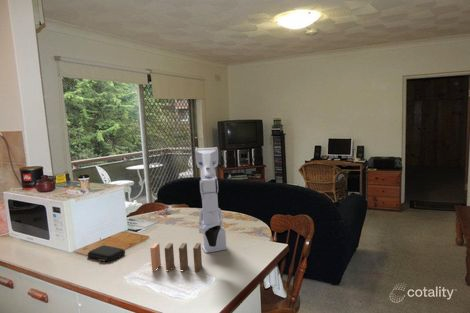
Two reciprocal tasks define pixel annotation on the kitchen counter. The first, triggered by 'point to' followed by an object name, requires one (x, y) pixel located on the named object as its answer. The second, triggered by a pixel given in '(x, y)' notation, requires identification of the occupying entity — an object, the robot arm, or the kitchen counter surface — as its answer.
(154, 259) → the end domino
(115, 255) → the carrying case or bag
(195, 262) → the domino
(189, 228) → the kitchen counter surface
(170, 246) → the domino
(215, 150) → the robot arm
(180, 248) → the domino
